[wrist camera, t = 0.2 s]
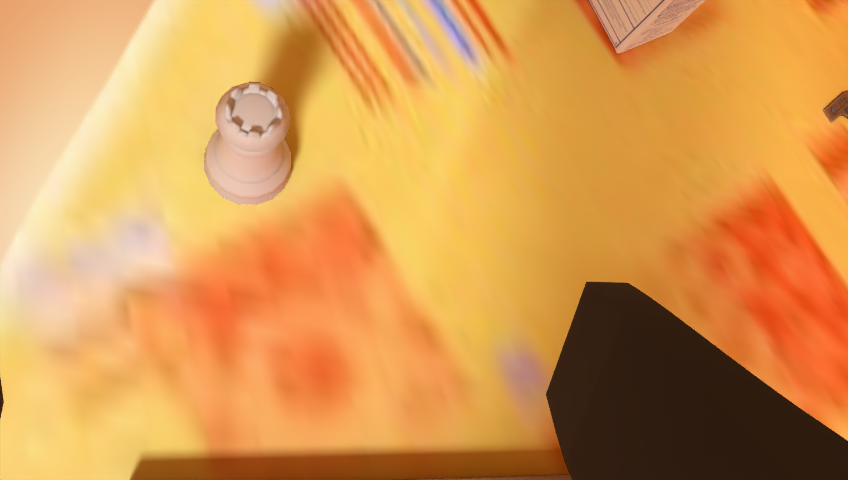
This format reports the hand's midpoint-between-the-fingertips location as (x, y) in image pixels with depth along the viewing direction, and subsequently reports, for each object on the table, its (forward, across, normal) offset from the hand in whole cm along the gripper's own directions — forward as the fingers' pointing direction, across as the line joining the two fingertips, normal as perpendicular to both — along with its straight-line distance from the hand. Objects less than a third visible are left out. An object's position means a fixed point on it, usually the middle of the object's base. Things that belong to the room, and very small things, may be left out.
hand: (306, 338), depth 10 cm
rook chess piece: (+30, -1, +14) cm, 34 cm away
